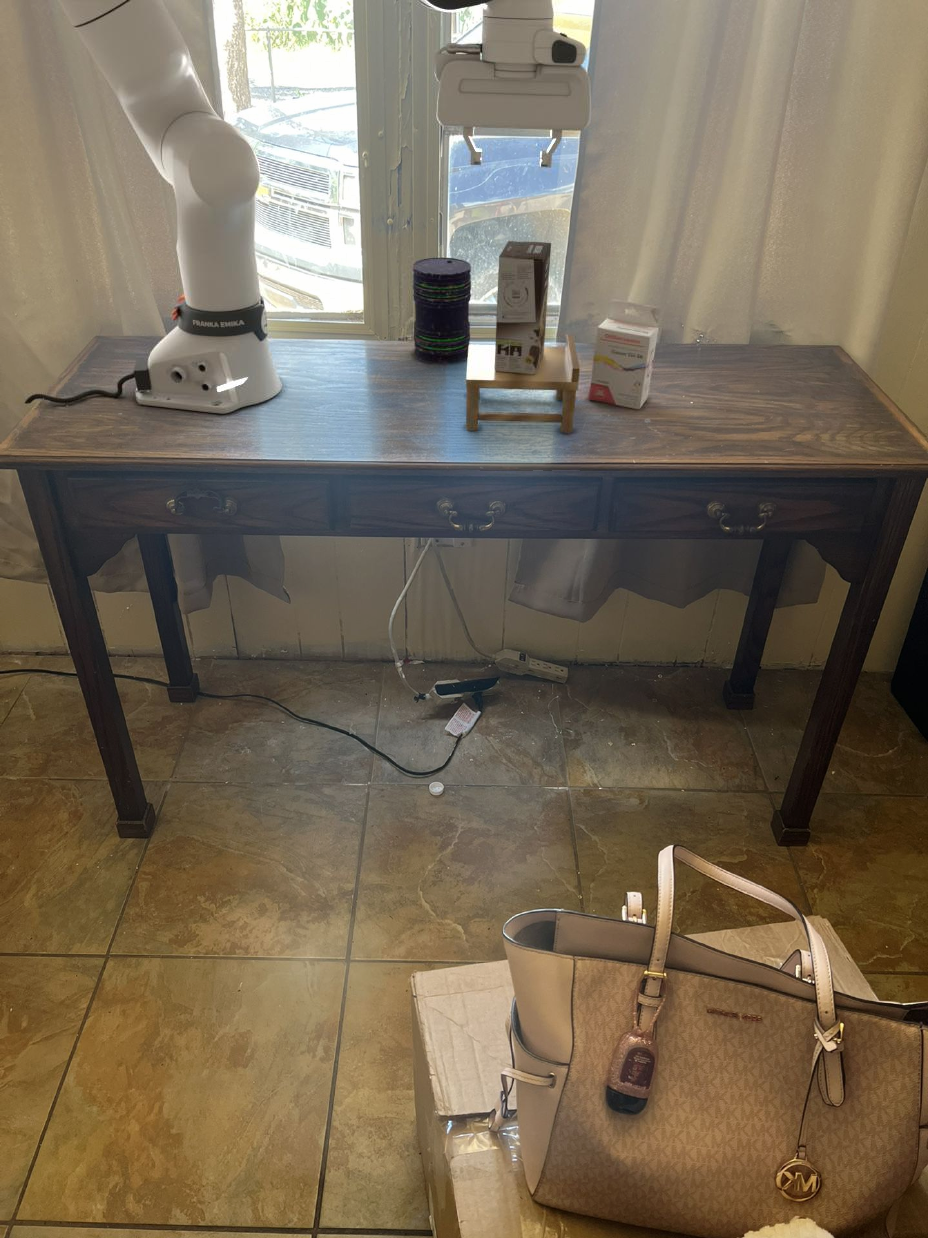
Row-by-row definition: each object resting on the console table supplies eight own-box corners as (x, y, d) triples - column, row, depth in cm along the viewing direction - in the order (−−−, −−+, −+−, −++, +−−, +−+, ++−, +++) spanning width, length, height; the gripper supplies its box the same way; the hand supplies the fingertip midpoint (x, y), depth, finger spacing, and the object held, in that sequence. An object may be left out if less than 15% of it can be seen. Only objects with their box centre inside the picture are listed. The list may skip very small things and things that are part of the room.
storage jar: (454, 367, 150) (455, 277, 141) (403, 358, 154) (401, 268, 145) (479, 349, 158) (481, 261, 149) (429, 340, 161) (429, 254, 152)
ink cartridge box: (587, 400, 141) (597, 306, 132) (597, 389, 144) (607, 297, 135) (640, 410, 138) (653, 315, 129) (648, 398, 141) (662, 305, 132)
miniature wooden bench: (465, 431, 131) (466, 365, 125) (467, 393, 142) (468, 331, 136) (573, 434, 131) (579, 368, 125) (567, 395, 142) (573, 333, 136)
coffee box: (537, 375, 128) (544, 258, 118) (493, 371, 129) (497, 255, 119) (545, 353, 135) (553, 241, 125) (503, 349, 136) (508, 238, 126)
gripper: (432, 44, 110) (432, 167, 118) (598, 49, 109) (586, 172, 118) (436, 39, 115) (435, 158, 123) (594, 44, 114) (583, 163, 123)
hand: (510, 165), depth 120 cm, fingers open, 8 cm apart
